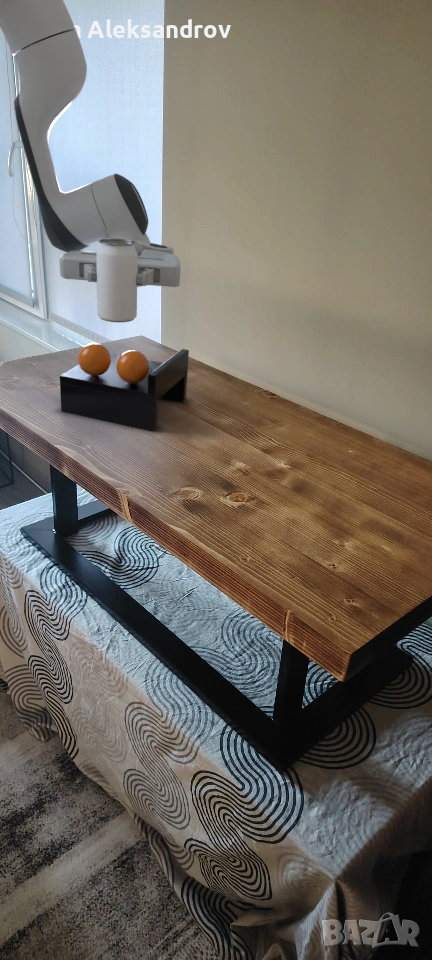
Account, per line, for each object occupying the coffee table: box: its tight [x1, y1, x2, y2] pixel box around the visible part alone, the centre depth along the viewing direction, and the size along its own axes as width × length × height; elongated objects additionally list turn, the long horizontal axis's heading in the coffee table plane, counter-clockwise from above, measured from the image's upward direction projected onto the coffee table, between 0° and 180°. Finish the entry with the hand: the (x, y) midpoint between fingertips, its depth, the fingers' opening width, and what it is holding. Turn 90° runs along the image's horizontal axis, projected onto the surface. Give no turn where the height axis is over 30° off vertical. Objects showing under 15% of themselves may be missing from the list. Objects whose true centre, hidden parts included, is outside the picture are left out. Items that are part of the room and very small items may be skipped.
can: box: [96, 238, 138, 323], centre depth 101 cm, size 6×6×12 cm
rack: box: [59, 342, 190, 432], centre depth 101 cm, size 16×14×11 cm
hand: (116, 278), depth 100 cm, fingers closed on can, 6 cm apart
